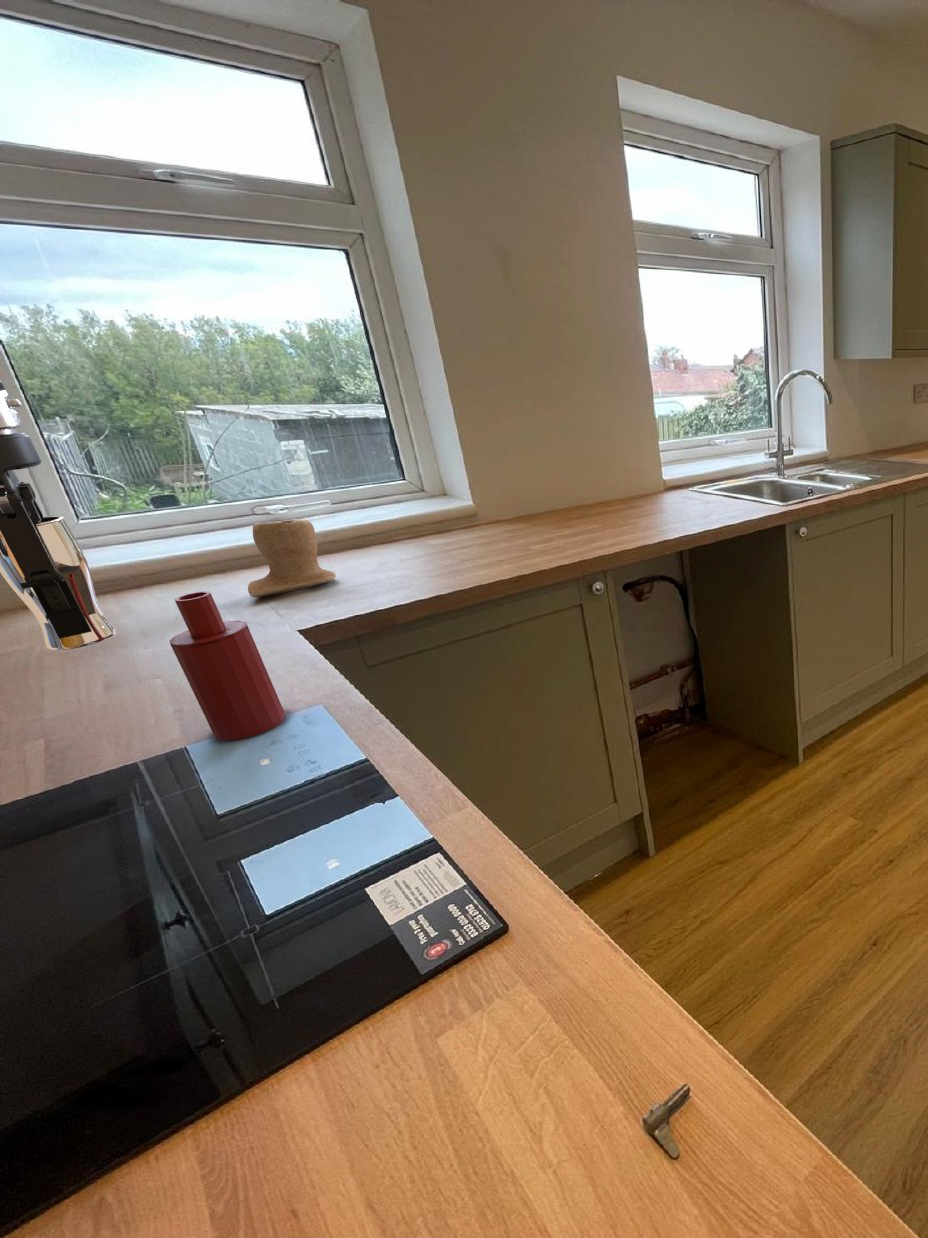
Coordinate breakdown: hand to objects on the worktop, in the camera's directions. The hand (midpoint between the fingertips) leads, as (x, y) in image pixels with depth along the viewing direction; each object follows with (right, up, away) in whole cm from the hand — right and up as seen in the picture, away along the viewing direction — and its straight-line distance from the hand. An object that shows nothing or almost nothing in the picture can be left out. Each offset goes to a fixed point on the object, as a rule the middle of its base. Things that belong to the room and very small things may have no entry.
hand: (75, 627), depth 83 cm
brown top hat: (-24, +8, +64) cm, 69 cm away
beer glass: (0, -2, +1) cm, 2 cm away
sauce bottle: (+14, -13, +9) cm, 21 cm away
